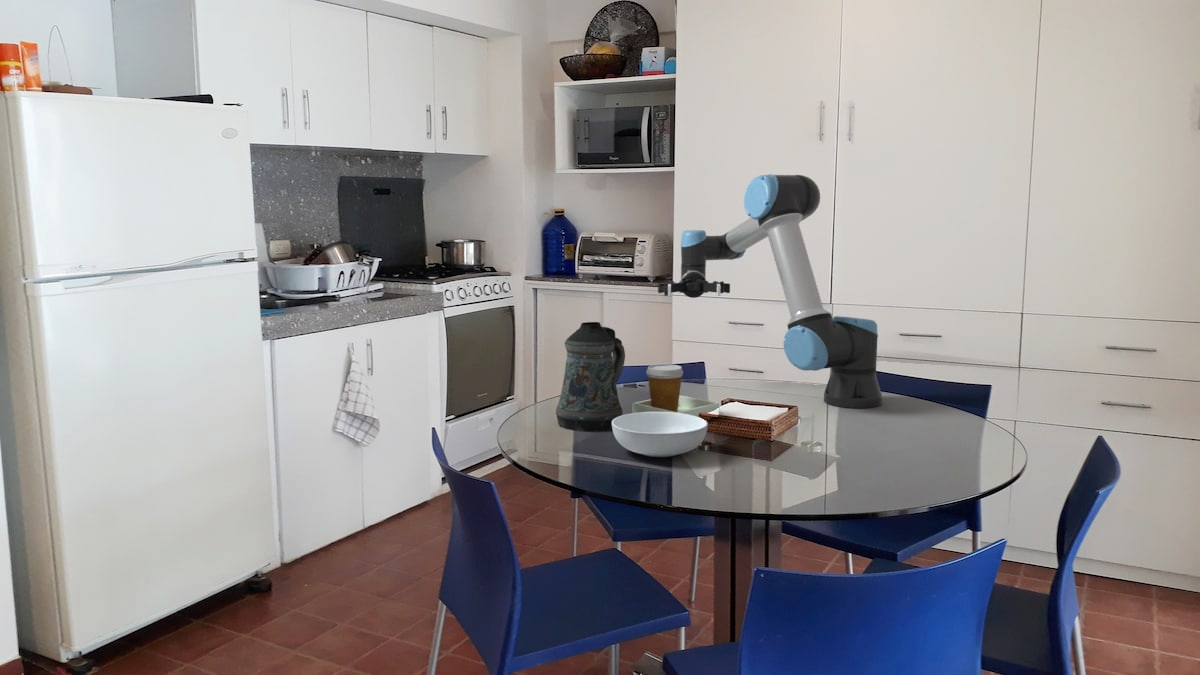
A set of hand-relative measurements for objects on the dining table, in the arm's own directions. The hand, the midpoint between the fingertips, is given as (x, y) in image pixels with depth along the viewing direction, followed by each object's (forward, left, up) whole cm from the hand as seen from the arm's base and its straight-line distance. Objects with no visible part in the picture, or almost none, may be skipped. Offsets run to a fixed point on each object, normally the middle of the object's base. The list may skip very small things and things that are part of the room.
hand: (694, 290), depth 244 cm
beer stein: (-1, +39, -30) cm, 49 cm away
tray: (-12, +20, -30) cm, 38 cm away
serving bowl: (-32, +46, -30) cm, 63 cm away
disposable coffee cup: (-9, +21, -30) cm, 37 cm away
